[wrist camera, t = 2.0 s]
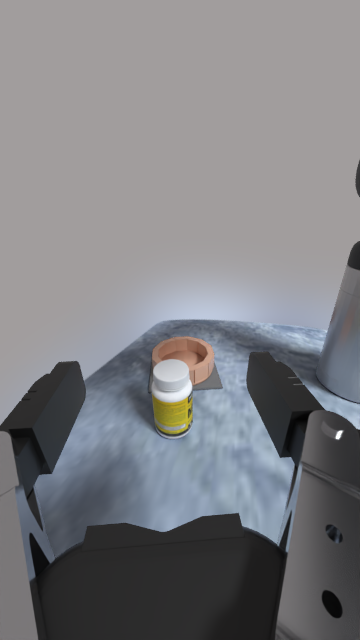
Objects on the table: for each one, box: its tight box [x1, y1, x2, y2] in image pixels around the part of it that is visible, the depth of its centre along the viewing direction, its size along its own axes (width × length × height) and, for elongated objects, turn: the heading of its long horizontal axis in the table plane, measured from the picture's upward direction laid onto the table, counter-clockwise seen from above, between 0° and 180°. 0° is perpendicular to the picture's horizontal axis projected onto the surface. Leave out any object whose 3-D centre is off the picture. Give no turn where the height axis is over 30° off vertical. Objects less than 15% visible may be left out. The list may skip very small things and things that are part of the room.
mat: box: [149, 351, 223, 393], centre depth 38 cm, size 11×11×1 cm
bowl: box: [152, 336, 214, 386], centre depth 37 cm, size 10×10×3 cm
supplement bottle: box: [151, 359, 193, 439], centre depth 26 cm, size 5×5×8 cm
